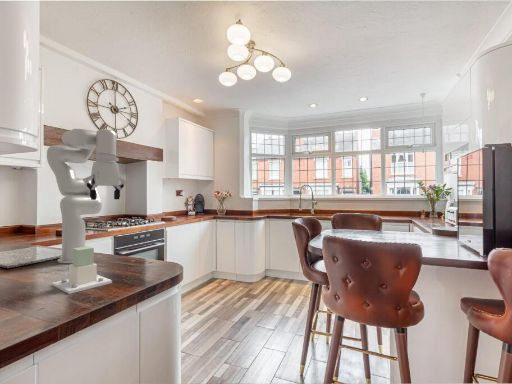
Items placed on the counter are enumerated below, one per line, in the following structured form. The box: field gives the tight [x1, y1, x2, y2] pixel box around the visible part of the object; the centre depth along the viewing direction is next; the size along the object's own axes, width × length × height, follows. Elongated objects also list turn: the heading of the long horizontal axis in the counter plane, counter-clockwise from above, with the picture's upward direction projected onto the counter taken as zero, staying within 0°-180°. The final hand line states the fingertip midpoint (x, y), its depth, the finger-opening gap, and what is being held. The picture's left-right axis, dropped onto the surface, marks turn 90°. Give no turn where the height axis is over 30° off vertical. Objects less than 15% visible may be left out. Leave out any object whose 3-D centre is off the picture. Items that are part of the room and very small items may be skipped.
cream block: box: [68, 262, 98, 285], centre depth 99 cm, size 6×6×6 cm
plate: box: [51, 274, 113, 295], centre depth 99 cm, size 14×14×2 cm
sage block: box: [72, 245, 95, 267], centre depth 100 cm, size 5×5×6 cm
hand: (105, 199), depth 116 cm, fingers open, 9 cm apart
